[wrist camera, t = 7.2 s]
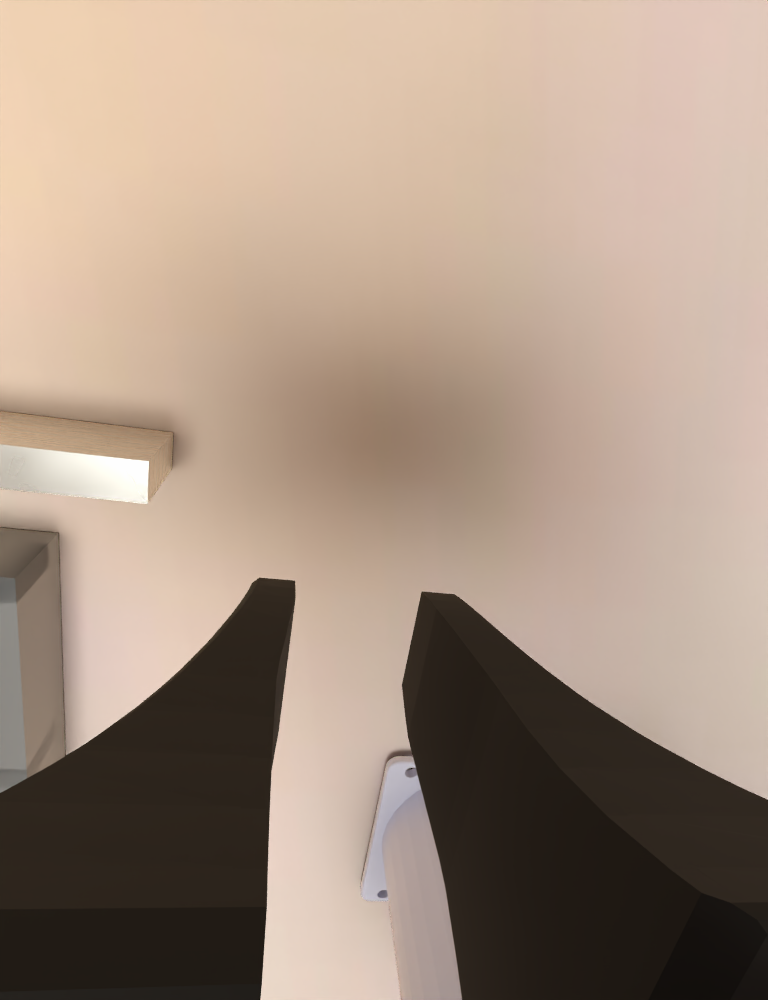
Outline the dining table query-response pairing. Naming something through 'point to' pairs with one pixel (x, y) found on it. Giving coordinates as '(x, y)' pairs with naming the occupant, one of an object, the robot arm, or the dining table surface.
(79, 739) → the dining table surface
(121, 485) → the bar
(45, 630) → the housing
